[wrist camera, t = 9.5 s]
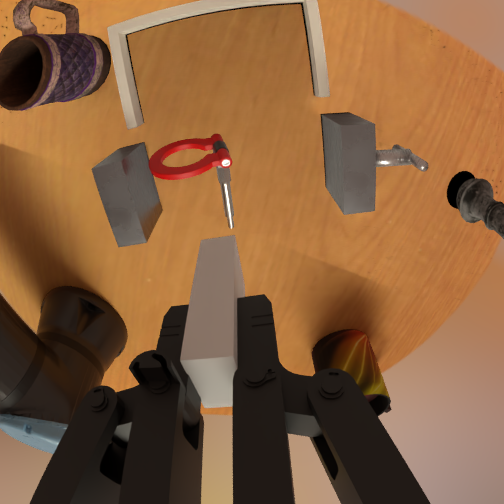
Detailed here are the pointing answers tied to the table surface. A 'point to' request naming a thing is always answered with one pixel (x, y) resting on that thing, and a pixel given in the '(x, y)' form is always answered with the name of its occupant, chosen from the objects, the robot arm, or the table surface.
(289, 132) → the table surface
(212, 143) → the tow hook
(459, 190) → the chess piece
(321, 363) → the mug
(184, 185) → the table surface
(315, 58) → the corral
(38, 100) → the mug
